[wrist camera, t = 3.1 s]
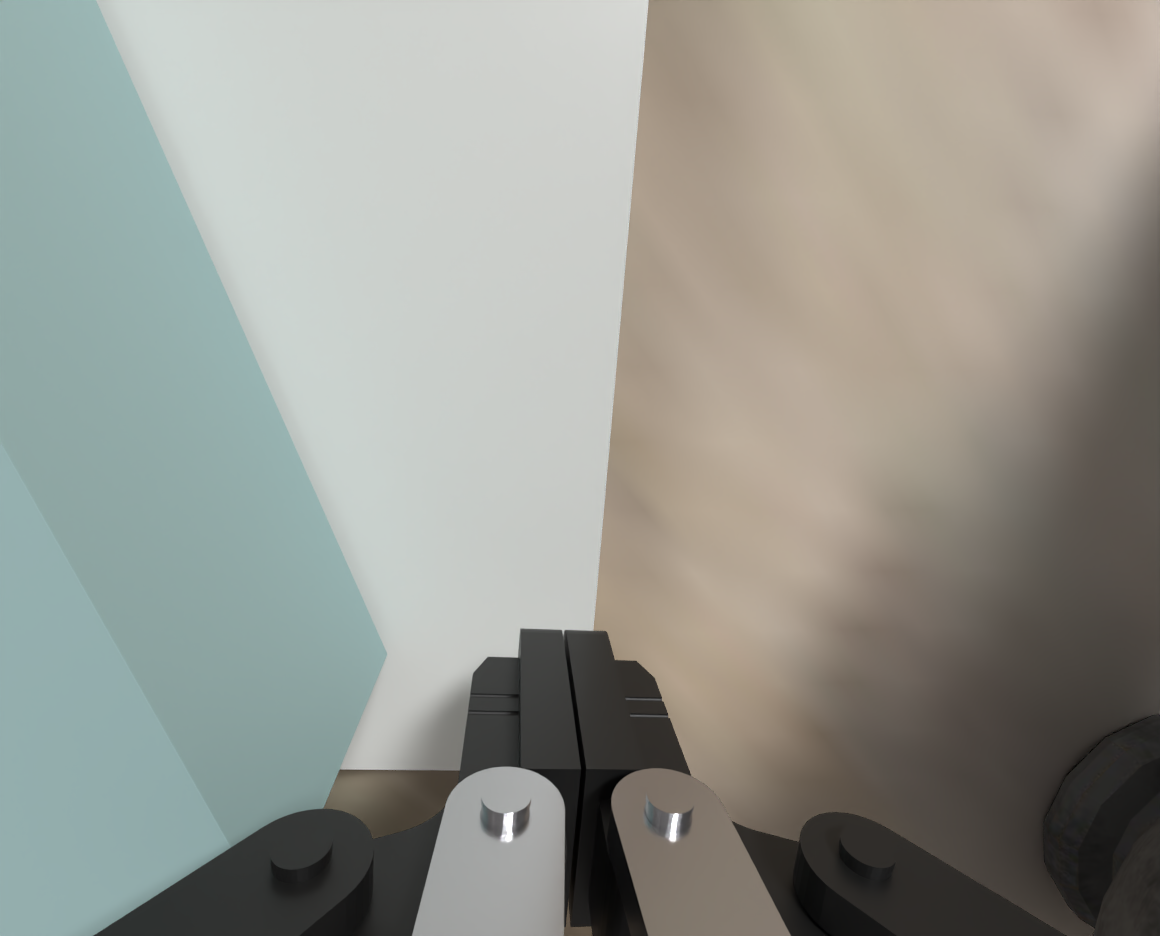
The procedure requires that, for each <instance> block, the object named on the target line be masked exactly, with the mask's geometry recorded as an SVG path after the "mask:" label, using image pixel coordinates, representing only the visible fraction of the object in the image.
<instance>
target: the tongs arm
mask: <svg viewBox="0 0 1160 936" xmlns="http://www.w3.org/2000/svg"><path fill="white" fill-rule="evenodd" d="M386 657H387V652H386V650H385V648H384V645H383V643H382V641H381V639H380V636H379V634H378V632H377V630H376V627H375V625H374V623H373V621H372V618H371V616H370V614H369V612H368V609H367V607H366V605H365V603H364V600H363V598H362V596H361V594H360V591H359V589H358V587H357V585H356V582H355V580H354V578H353V576H352V573H351V571H350V569H349V567H348V565H347V562H346V560H345V558H344V556H343V553H342V551H341V549H340V547H339V544H338V542H337V540H336V538H335V535H334V533H333V531H332V529H331V526H330V524H329V522H328V520H327V517H326V515H325V513H324V511H323V508H322V506H321V504H320V502H319V499H318V497H317V495H316V493H315V490H314V488H313V486H312V484H311V481H310V479H309V477H308V475H307V473H306V470H305V468H304V466H303V464H302V461H301V459H300V457H299V455H298V452H297V450H296V448H295V446H294V443H293V441H292V439H291V437H290V434H289V432H288V430H287V428H286V425H285V423H284V421H283V419H282V416H281V414H280V412H279V410H278V407H277V405H276V403H275V401H274V398H273V396H272V394H271V392H270V389H269V387H268V385H267V383H266V381H265V378H264V376H263V374H262V372H261V369H260V367H259V365H258V363H257V360H256V358H255V356H254V354H253V351H252V349H251V347H250V345H249V342H248V340H247V338H246V336H245V333H244V331H243V329H242V327H241V324H240V322H239V320H238V318H237V315H236V313H235V311H234V309H233V306H232V304H231V302H230V300H229V298H228V295H227V293H226V291H225V289H224V286H223V284H222V282H221V280H220V277H219V275H218V273H217V271H216V268H215V266H214V264H213V262H212V259H211V257H210V255H209V253H208V250H207V248H206V246H205V244H204V241H203V239H202V237H201V235H200V232H199V230H198V228H197V226H196V223H195V221H194V219H193V217H192V214H191V212H190V210H189V208H188V206H187V203H186V201H185V199H184V197H183V194H182V192H181V190H180V188H179V185H178V183H177V181H176V179H175V176H174V174H173V172H172V170H171V167H170V165H169V163H168V161H167V158H166V156H165V154H164V152H163V149H162V147H161V145H160V143H159V140H158V138H157V136H156V134H155V131H154V129H153V127H152V125H151V122H150V120H149V118H148V116H147V114H146V111H145V109H144V107H143V105H142V102H141V100H140V98H139V96H138V93H137V91H136V89H135V87H134V84H133V82H132V80H131V78H130V75H129V73H128V71H127V69H126V66H125V64H124V62H123V60H122V57H121V55H120V53H119V51H118V48H117V46H116V44H115V42H114V39H113V37H112V35H111V33H110V30H109V28H108V26H107V24H106V22H105V19H104V17H103V15H102V13H101V10H100V8H99V6H98V4H97V1H96V0H0V936H94V935H95V934H97V933H98V932H100V931H101V930H103V929H105V928H106V927H108V926H109V925H111V924H112V923H114V922H115V921H117V920H119V919H120V918H122V917H123V916H125V915H126V914H128V913H130V912H131V911H133V910H134V909H136V908H137V907H139V906H140V905H142V904H144V903H145V902H147V901H148V900H150V899H151V898H153V897H154V896H156V895H158V894H159V893H161V892H162V891H164V890H165V889H167V888H169V887H170V886H172V885H173V884H175V883H176V882H178V881H179V880H181V879H183V878H184V877H186V876H187V875H189V874H190V873H192V872H193V871H195V870H197V869H198V868H200V867H201V866H203V865H204V864H206V863H208V862H209V861H211V860H212V859H214V858H215V857H217V856H218V855H220V854H222V853H223V852H225V851H226V850H228V849H229V848H231V847H232V846H234V845H236V844H237V843H239V842H240V841H242V840H243V839H245V838H247V837H248V836H250V835H251V834H253V833H254V832H256V831H257V830H259V829H261V828H262V827H264V826H266V825H267V824H269V823H271V822H273V821H275V820H277V819H279V818H282V817H284V816H286V815H290V814H293V813H296V812H300V811H305V810H312V809H323V808H324V805H325V803H326V801H327V798H328V796H329V793H330V791H331V789H332V786H333V784H334V781H335V779H336V777H337V774H338V772H339V769H340V767H341V765H342V762H343V760H344V757H345V755H346V753H347V750H348V748H349V745H350V743H351V741H352V738H353V736H354V733H355V731H356V729H357V726H358V724H359V721H360V719H361V717H362V714H363V712H364V709H365V707H366V705H367V702H368V700H369V697H370V695H371V693H372V690H373V688H374V685H375V683H376V681H377V678H378V676H379V673H380V671H381V669H382V666H383V664H384V661H385V659H386Z"/></svg>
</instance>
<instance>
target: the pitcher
mask: <svg viewBox="0 0 1160 936" xmlns="http://www.w3.org/2000/svg"><path fill="white" fill-rule="evenodd" d="M1044 862H1045V864H1046V867H1047V869H1048V872H1049V873H1050V875H1051V877H1052V879H1053V880H1054V882H1055V884H1056V885H1057V887H1058V889H1059V891H1060V892H1061V894H1062V896H1063V898H1064V899H1065V901H1066V903H1067V905H1068V906H1069V907H1070V908H1071V909H1072V910H1073V912H1074V913H1075V914H1076V915H1077V916H1078V917H1079V918H1080V919H1082V920H1083V921H1085V922H1086V923H1088V924H1089V925H1091V926H1092V927H1094V928H1095V930H1094V933H1093V936H1160V715H1153V716H1151V717H1149V718H1146V719H1144V720H1142V721H1140V722H1138V723H1136V724H1134V725H1131V726H1129V727H1127V728H1125V729H1123V730H1121V731H1119V732H1116V733H1114V734H1112V735H1110V736H1108V737H1106V738H1104V739H1103V740H1102V741H1101V742H1100V743H1099V744H1098V745H1097V746H1096V747H1095V748H1094V749H1093V750H1092V751H1091V752H1090V753H1089V754H1088V755H1087V756H1086V757H1085V758H1084V759H1083V760H1082V761H1081V762H1080V763H1079V764H1078V765H1077V766H1076V767H1075V768H1074V769H1073V770H1072V771H1071V772H1070V773H1069V774H1068V775H1067V776H1066V778H1065V780H1064V782H1063V784H1062V786H1061V788H1060V790H1059V792H1058V794H1057V796H1056V798H1055V800H1054V802H1053V804H1052V806H1051V808H1050V810H1049V812H1048V814H1047V816H1046V818H1045V820H1044Z"/></svg>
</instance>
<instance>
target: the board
mask: <svg viewBox="0 0 1160 936" xmlns="http://www.w3.org/2000/svg"><path fill="white" fill-rule="evenodd" d="M96 1H97V4H98V6H99V8H100V10H101V13H102V15H103V17H104V19H105V22H106V24H107V26H108V28H109V30H110V33H111V35H112V37H113V39H114V42H115V44H116V46H117V48H118V51H119V53H120V55H121V57H122V60H123V62H124V64H125V66H126V69H127V71H128V73H129V75H130V78H131V80H132V82H133V84H134V87H135V89H136V91H137V93H138V96H139V98H140V100H141V102H142V105H143V107H144V109H145V111H146V114H147V116H148V118H149V120H150V122H151V125H152V127H153V129H154V131H155V134H156V136H157V138H158V140H159V143H160V145H161V147H162V149H163V152H164V154H165V156H166V158H167V161H168V163H169V165H170V167H171V170H172V172H173V174H174V176H175V179H176V181H177V183H178V185H179V188H180V190H181V192H182V194H183V197H184V199H185V201H186V203H187V206H188V208H189V210H190V212H191V214H192V217H193V219H194V221H195V223H196V226H197V228H198V230H199V232H200V235H201V237H202V239H203V241H204V244H205V246H206V248H207V250H208V253H209V255H210V257H211V259H212V262H213V264H214V266H215V268H216V271H217V273H218V275H219V277H220V280H221V282H222V284H223V286H224V289H225V291H226V293H227V295H228V298H229V300H230V302H231V304H232V306H233V309H234V311H235V313H236V315H237V318H238V320H239V322H240V324H241V327H242V329H243V331H244V333H245V336H246V338H247V340H248V342H249V345H250V347H251V349H252V351H253V354H254V356H255V358H256V360H257V363H258V365H259V367H260V369H261V372H262V374H263V376H264V378H265V381H266V383H267V385H268V387H269V389H270V392H271V394H272V396H273V398H274V401H275V403H276V405H277V407H278V410H279V412H280V414H281V416H282V419H283V421H284V423H285V425H286V428H287V430H288V432H289V434H290V437H291V439H292V441H293V443H294V446H295V448H296V450H297V452H298V455H299V457H300V459H301V461H302V464H303V466H304V468H305V470H306V473H307V475H308V477H309V479H310V481H311V484H312V486H313V488H314V490H315V493H316V495H317V497H318V499H319V502H320V504H321V506H322V508H323V511H324V513H325V515H326V517H327V520H328V522H329V524H330V526H331V529H332V531H333V533H334V535H335V538H336V540H337V542H338V544H339V547H340V549H341V551H342V553H343V556H344V558H345V560H346V562H347V565H348V567H349V569H350V571H351V573H352V576H353V578H354V580H355V582H356V585H357V587H358V589H359V591H360V594H361V596H362V598H363V600H364V603H365V605H366V607H367V609H368V612H369V614H370V616H371V618H372V621H373V623H374V625H375V627H376V630H377V632H378V634H379V636H380V639H381V641H382V643H383V645H384V648H385V650H386V652H387V657H386V659H385V661H384V664H383V666H382V669H381V671H380V673H379V676H378V678H377V681H376V683H375V685H374V688H373V690H372V693H371V695H370V697H369V700H368V702H367V705H366V707H365V709H364V712H363V714H362V717H361V719H360V721H359V724H358V726H357V729H356V731H355V733H354V736H353V738H352V741H351V743H350V745H349V748H348V750H347V753H346V755H345V757H344V760H343V762H342V765H341V767H340V769H351V770H459V771H460V766H461V758H462V751H463V743H464V736H465V728H466V721H467V715H468V706H469V699H470V691H471V684H472V676H473V673H474V672H475V670H476V669H477V668H478V667H479V666H480V665H481V664H482V663H483V661H484V660H485V659H486V658H487V657H516V658H518V649H519V635H520V628H524V629H553V630H562V633H563V634H564V631H565V630H586V631H593V628H594V616H595V605H596V593H597V582H598V571H599V559H600V548H601V536H602V525H603V514H604V502H605V491H606V479H607V468H608V457H609V445H610V434H611V422H612V411H613V400H614V388H615V377H616V365H617V354H618V343H619V331H620V320H621V308H622V297H623V286H624V274H625V263H626V251H627V240H628V229H629V217H630V206H631V195H632V183H633V172H634V160H635V149H636V138H637V126H638V115H639V103H640V92H641V81H642V69H643V58H644V46H645V35H646V24H647V12H648V1H649V0H96Z"/></svg>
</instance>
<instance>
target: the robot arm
mask: <svg viewBox="0 0 1160 936" xmlns="http://www.w3.org/2000/svg"><path fill="white" fill-rule="evenodd" d="M568 900H569V912H570V924H571V927H581V926H592V935H593V936H1066V935H1064V934H1063V933H1061V932H1059V931H1058V930H1056V929H1054V928H1053V927H1051V926H1049V925H1048V924H1046V923H1044V922H1043V921H1041V920H1039V919H1038V918H1036V917H1034V916H1033V915H1031V914H1029V913H1028V912H1026V911H1024V910H1023V909H1021V908H1019V907H1018V906H1016V905H1014V904H1013V903H1011V902H1009V901H1008V900H1006V899H1004V898H1003V897H1001V896H999V895H998V894H996V893H994V892H993V891H991V890H989V889H988V888H986V887H984V886H983V885H981V884H979V883H978V882H976V881H974V880H973V879H971V878H969V877H968V876H966V875H964V874H963V873H961V872H959V871H958V870H956V869H954V868H953V867H951V866H949V865H948V864H946V863H944V862H943V861H941V860H939V859H938V858H936V857H934V856H933V855H931V854H929V853H928V852H926V851H924V850H923V849H921V848H919V847H918V846H916V845H914V844H913V843H911V842H909V841H908V840H906V839H905V838H903V837H901V836H900V835H898V834H896V833H895V832H893V831H891V830H890V829H888V828H886V827H884V826H882V825H880V824H878V823H876V822H874V821H871V820H869V819H866V818H863V817H860V816H857V815H852V814H848V813H838V812H834V813H824V814H819V815H817V816H815V817H812V818H811V819H810V820H809V821H807V822H806V824H805V825H804V826H803V828H802V831H801V834H800V840H799V842H797V841H793V840H789V839H785V838H781V837H777V836H774V835H770V834H766V833H762V832H758V831H755V830H752V829H749V828H746V827H744V826H741V825H739V824H737V823H735V822H733V821H731V819H730V817H729V815H728V813H727V811H726V809H725V807H724V805H723V804H722V802H721V801H720V799H719V798H718V796H717V795H716V794H715V793H714V792H713V791H712V790H711V789H710V788H709V787H708V786H706V785H705V784H704V783H702V782H701V781H699V780H697V779H695V778H693V777H691V774H690V771H689V769H688V766H687V763H686V761H685V758H684V755H683V753H682V750H681V747H680V745H679V742H678V739H677V737H676V734H675V731H674V729H673V726H672V723H671V721H670V718H668V713H667V710H666V707H665V705H664V702H663V701H662V697H661V694H660V691H659V689H658V686H657V683H656V681H655V678H654V677H653V676H652V675H651V674H650V673H649V672H648V671H647V670H645V669H644V668H643V667H642V666H641V665H640V664H639V663H638V662H637V661H623V660H615V659H614V655H613V652H612V648H611V645H610V641H609V637H608V634H607V632H606V631H586V630H565V631H564V634H563V633H562V630H553V629H524V628H520V635H519V649H518V658H516V657H487V658H486V659H485V660H484V661H483V663H482V664H481V665H480V666H479V667H478V668H477V669H476V670H475V672H474V673H473V676H472V684H471V691H470V699H469V706H468V715H467V721H466V728H465V736H464V743H463V751H462V758H461V766H460V773H459V781H458V785H457V786H456V787H455V788H454V789H453V790H452V792H451V794H450V795H449V797H448V800H447V802H446V805H445V807H444V808H443V809H442V810H441V811H440V812H439V813H438V814H436V815H435V816H434V817H433V818H431V819H429V820H428V821H426V822H424V823H423V824H420V825H418V826H416V827H414V828H411V829H408V830H405V831H402V832H398V833H395V834H391V835H387V836H383V837H379V838H376V839H372V836H371V833H370V831H369V830H368V828H367V827H366V825H365V824H364V823H363V822H362V821H361V820H359V819H358V818H356V817H355V816H353V815H351V814H348V813H346V812H343V811H338V810H333V809H312V810H305V811H300V812H296V813H293V814H290V815H286V816H284V817H282V818H279V819H277V820H275V821H273V822H271V823H269V824H267V825H266V826H264V827H262V828H261V829H259V830H257V831H256V832H254V833H253V834H251V835H250V836H248V837H247V838H245V839H243V840H242V841H240V842H239V843H237V844H236V845H234V846H232V847H231V848H229V849H228V850H226V851H225V852H223V853H222V854H220V855H218V856H217V857H215V858H214V859H212V860H211V861H209V862H208V863H206V864H204V865H203V866H201V867H200V868H198V869H197V870H195V871H193V872H192V873H190V874H189V875H187V876H186V877H184V878H183V879H181V880H179V881H178V882H176V883H175V884H173V885H172V886H170V887H169V888H167V889H165V890H164V891H162V892H161V893H159V894H158V895H156V896H154V897H153V898H151V899H150V900H148V901H147V902H145V903H144V904H142V905H140V906H139V907H137V908H136V909H134V910H133V911H131V912H130V913H128V914H126V915H125V916H123V917H122V918H120V919H119V920H117V921H115V922H114V923H112V924H111V925H109V926H108V927H106V928H105V929H103V930H101V931H100V932H98V933H97V934H95V935H94V936H564V927H566V917H567V907H568Z"/></svg>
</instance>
